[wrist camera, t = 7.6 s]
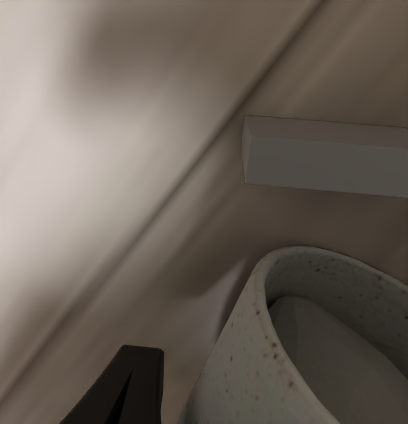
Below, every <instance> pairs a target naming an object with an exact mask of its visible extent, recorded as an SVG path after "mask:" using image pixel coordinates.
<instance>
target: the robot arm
mask: <svg viewBox="0 0 408 424" xmlns="http://www.w3.org/2000/svg"><path fill="white" fill-rule="evenodd" d="M163 376H164V351H163V350H162V349H158V348H149V347H140V346H131V345H123V346H122V347H121V348H120V349H119V351H118V352H117V354H116V355H115V356H114V358H113V359H112V361H111V362H110V363H109V365H108V366H107V367H106V369H105V370H104V371H103V373H102V374H101V375H100V377H99V378H98V379H97V380H96V382H95V383H94V384H93V385H92V387H91V388H90V389H89V390H88V391H87V393H86V394H85V395H84V396H83V397H82V399H81V400H80V401H79V402H78V403H77V405H76V406H75V407H74V408H73V409H72V410H71V411H70V412H69V413H68V415H67V416H66V417H65V418H64V419H63V420H62V421H61V422H60V423H59V424H161V412H160V411H161V402H162V395H163Z"/></svg>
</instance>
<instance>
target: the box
mask: <svg viewBox="0 0 408 424" xmlns="http://www.w3.org/2000/svg"><path fill="white" fill-rule="evenodd" d="M241 153H242V161H243V169H244V176H245V184H255V185H267V186H278V187H289V188H301V189H312V190H324V191H335V192H347V193H358V194H370V195H381V196H393V197H404V198H408V128H402V127H389V126H377V125H364V124H351V123H339V122H326V121H313V120H300V119H288V118H275V117H262V116H249V115H245V116H244V125H243V134H242V143H241Z"/></svg>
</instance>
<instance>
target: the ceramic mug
mask: <svg viewBox="0 0 408 424" xmlns="http://www.w3.org/2000/svg"><path fill="white" fill-rule="evenodd" d="M177 424H408V286H407V285H405V284H404V283H402V282H401V281H399V280H397V279H396V278H394V277H391V276H389V275H387V274H385V273H383V272H381V271H379V270H377V269H375V268H373V267H370V266H368V265H367V264H365V263H363V262H361V261H359V260H357V259H354V258H351V257H348V256H345V255H342V254H340V253H337V252H332V251H330V250H326V249H320V248H317V247H311V246H286V247H282V248H279V249H276V250H274V251H272V252H270V253H269V254H267V255H265V256H264V257H263V258H262V259H261V260H260V261H259V262H258V263H257V264H256V266H255V268H254V269H253V271H252V273H251V275H250V277H249V279H248V281H247V283H246V285H245V287H244V289H243V291H242V293H241V295H240V297H239V299H238V301H237V303H236V305H235V307H234V309H233V311H232V313H231V315H230V317H229V319H228V321H227V322H226V324H225V326H224V328H223V330H222V332H221V334H220V336H219V337H218V339H217V341H216V343H215V345H214V347H213V349H212V352H211V354H210V356H209V358H208V360H207V363H206V365H205V367H204V369H203V371H202V373H201V375H200V376H199V378H198V380H197V382H196V383H195V385H194V387H193V389H192V390H191V392H190V394H189V396H188V397H187V400H186V402H185V404H184V406H183V409H182V412H181V414H180V417H179V420H178V423H177Z"/></svg>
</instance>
